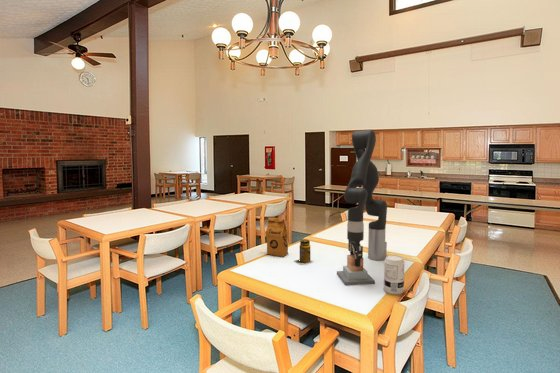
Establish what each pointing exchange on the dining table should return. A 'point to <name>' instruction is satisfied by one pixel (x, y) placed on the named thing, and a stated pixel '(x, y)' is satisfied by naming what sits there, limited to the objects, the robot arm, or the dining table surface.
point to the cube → (352, 263)
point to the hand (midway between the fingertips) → (355, 263)
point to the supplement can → (394, 274)
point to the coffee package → (277, 237)
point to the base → (355, 282)
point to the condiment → (304, 252)
